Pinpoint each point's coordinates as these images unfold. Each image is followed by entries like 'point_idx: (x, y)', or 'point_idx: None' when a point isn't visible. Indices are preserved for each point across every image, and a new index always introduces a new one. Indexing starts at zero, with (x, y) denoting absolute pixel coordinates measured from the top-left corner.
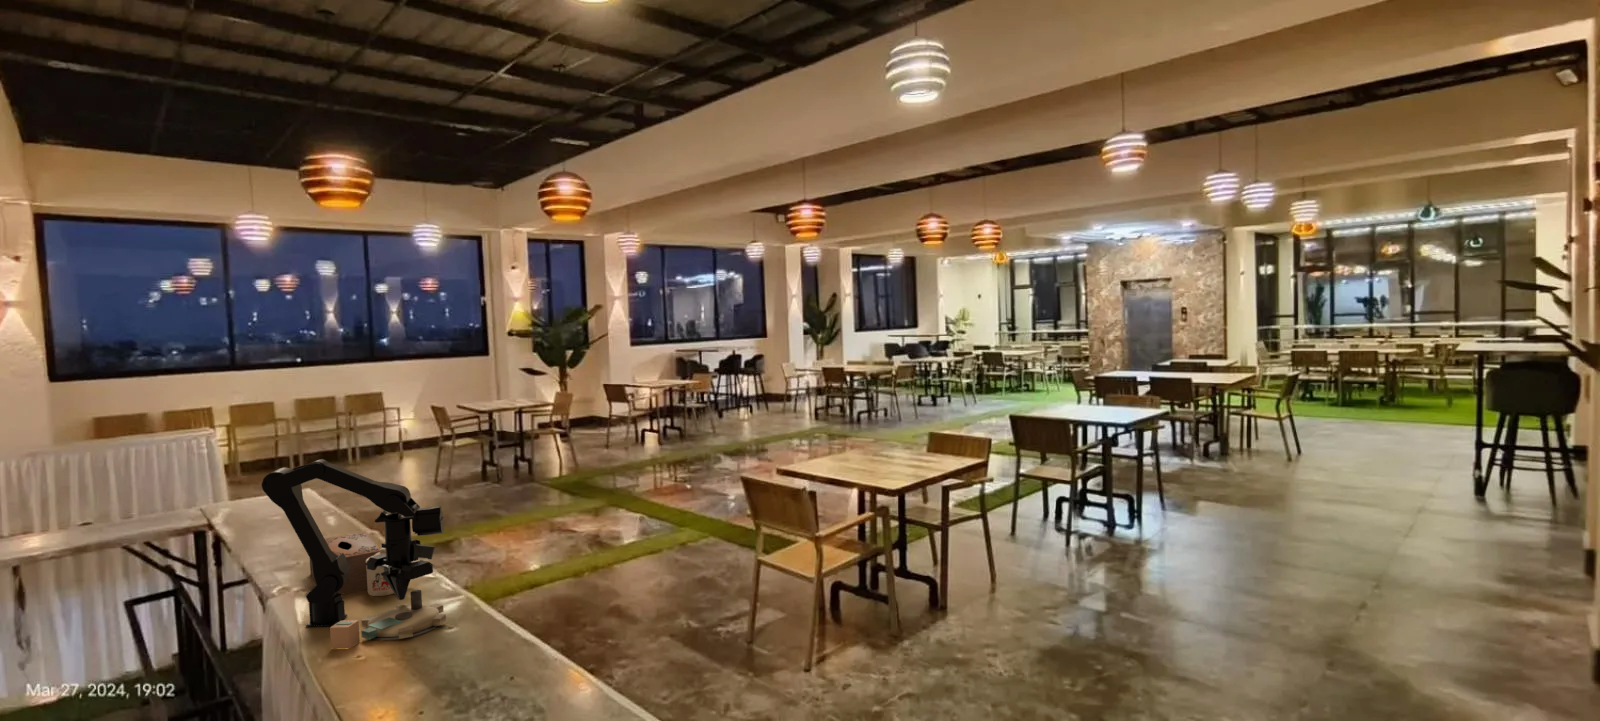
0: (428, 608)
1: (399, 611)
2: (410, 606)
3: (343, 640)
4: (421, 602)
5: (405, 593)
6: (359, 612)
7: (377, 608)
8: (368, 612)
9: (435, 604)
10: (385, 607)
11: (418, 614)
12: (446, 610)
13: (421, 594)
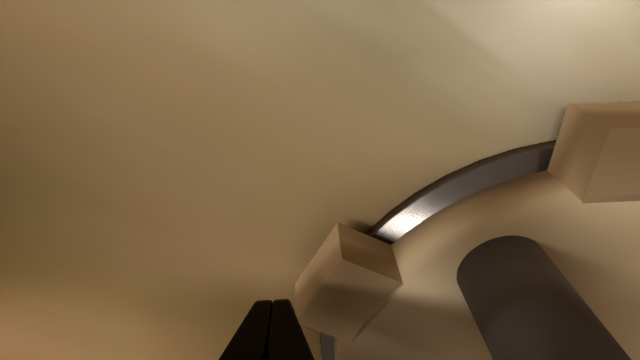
0: (625, 234)
1: (429, 352)
2: (420, 279)
3: None
4: (569, 283)
5: (305, 343)
6: (26, 342)
7: (25, 267)
8: (72, 320)
9: (626, 150)
10: (45, 233)
11: (626, 320)
12: (612, 11)
13: (615, 343)
